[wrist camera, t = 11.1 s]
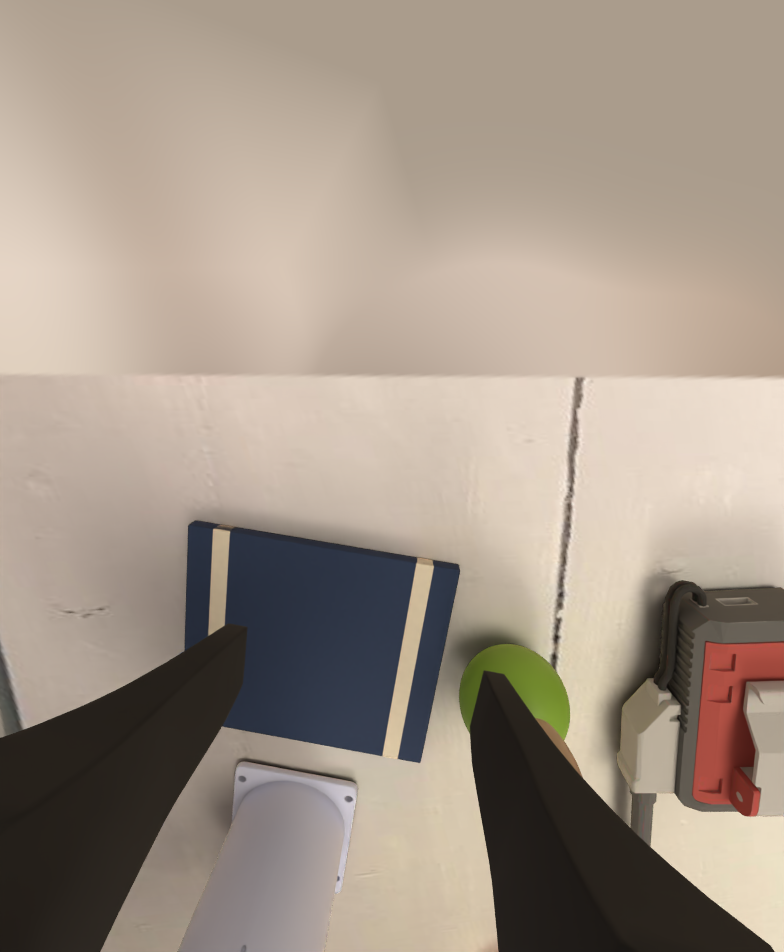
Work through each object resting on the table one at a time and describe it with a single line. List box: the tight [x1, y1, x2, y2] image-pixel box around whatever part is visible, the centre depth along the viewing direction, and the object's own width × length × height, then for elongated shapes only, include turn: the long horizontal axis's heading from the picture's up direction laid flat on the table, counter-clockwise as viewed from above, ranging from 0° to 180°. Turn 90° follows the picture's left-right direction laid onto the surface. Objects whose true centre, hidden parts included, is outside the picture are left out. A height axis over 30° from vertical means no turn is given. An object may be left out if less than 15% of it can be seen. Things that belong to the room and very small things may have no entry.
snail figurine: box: [459, 644, 583, 778], centre depth 17 cm, size 5×6×12 cm
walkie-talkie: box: [617, 580, 784, 846], centre depth 21 cm, size 9×4×20 cm
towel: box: [185, 521, 460, 763], centre depth 23 cm, size 13×15×1 cm
